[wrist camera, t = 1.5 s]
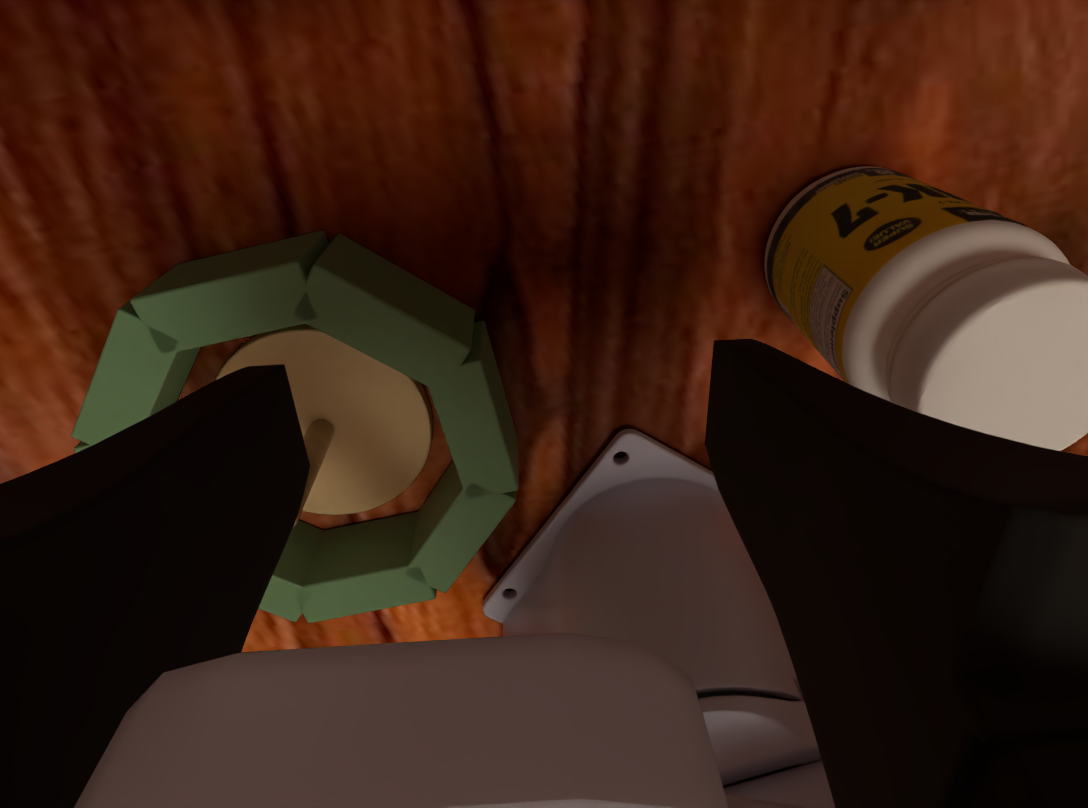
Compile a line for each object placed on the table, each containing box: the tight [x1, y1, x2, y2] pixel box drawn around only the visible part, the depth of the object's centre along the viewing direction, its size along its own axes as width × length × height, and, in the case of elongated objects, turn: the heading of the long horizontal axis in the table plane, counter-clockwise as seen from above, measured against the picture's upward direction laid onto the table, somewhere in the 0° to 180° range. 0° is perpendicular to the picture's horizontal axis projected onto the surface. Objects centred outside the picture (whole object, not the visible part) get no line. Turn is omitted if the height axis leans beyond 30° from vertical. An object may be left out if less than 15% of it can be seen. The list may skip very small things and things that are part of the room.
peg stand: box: [215, 323, 433, 527], centre depth 20 cm, size 7×7×5 cm
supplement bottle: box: [764, 166, 1088, 451], centre depth 16 cm, size 5×5×8 cm
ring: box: [72, 231, 519, 623], centre depth 21 cm, size 12×12×3 cm
